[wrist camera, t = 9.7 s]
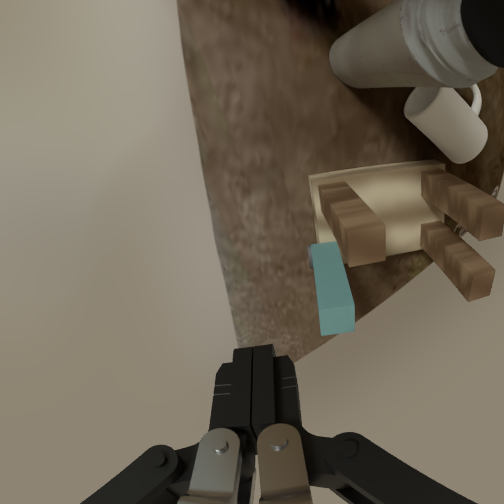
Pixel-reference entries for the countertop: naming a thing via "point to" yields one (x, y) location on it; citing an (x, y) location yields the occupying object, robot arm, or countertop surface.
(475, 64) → the thermos bottle
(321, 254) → the folding leg
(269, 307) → the countertop surface
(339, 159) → the countertop surface
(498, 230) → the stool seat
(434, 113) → the mug
